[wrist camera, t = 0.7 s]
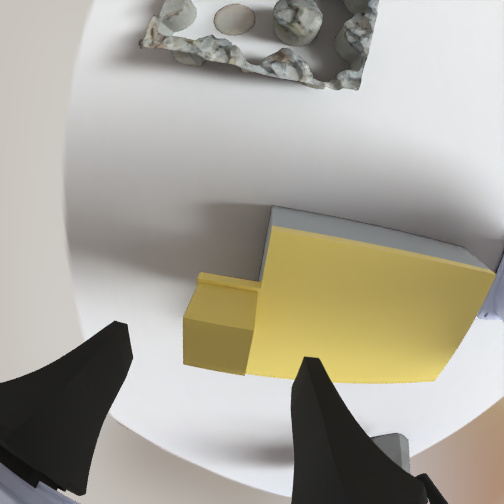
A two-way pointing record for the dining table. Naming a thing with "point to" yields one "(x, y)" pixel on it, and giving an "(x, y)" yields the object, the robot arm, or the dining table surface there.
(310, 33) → the egg carton
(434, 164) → the dining table surface
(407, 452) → the coffeepot
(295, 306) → the lid
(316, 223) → the tub
